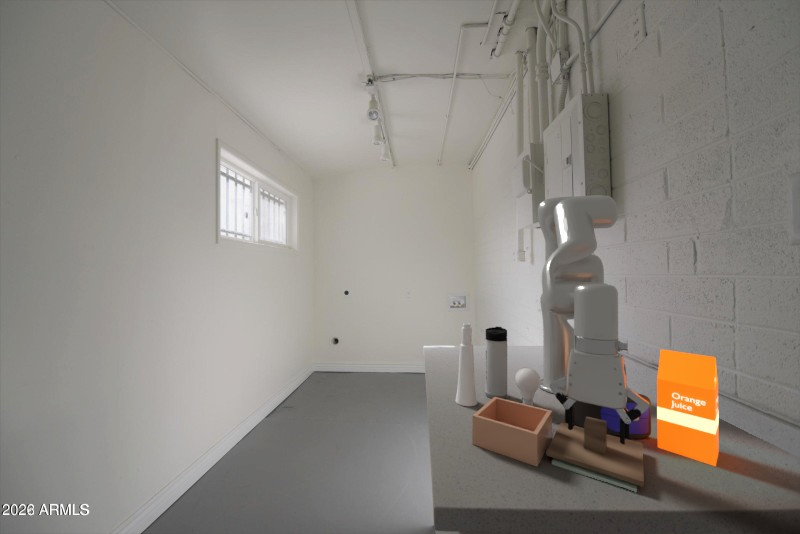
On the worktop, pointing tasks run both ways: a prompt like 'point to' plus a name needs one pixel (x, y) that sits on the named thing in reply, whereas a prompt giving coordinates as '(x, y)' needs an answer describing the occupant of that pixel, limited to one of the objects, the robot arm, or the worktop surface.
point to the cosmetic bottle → (466, 370)
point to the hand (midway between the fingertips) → (595, 433)
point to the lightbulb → (527, 384)
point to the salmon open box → (513, 429)
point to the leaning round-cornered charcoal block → (615, 418)
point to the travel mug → (496, 362)
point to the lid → (598, 451)
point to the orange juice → (688, 405)
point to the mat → (594, 474)
